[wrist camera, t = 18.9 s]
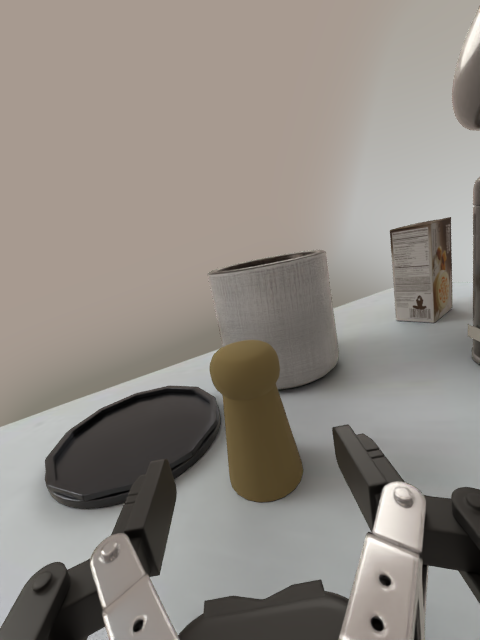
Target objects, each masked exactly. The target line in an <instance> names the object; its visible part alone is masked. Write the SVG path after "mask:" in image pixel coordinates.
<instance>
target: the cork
mask: <svg viewBox="0 0 480 640" xmlns="http://www.w3.org/2000/svg"><path fill="white" fill-rule="evenodd" d="M210 374H211V378H212V381H213V384H214V386H215V388H216V389H217V390H218V391H219V392H220V393H221V394H223V405H224V416H225V428H226V439H227V451H228V462H229V474H230V481H231V484H232V487H233V489H234V490H235V491H236V492H237V494H238V495H240V496H242V497H244V498H245V499H247V500H251V501H256V502H269V501H274V500H277V499H280V498H283V497H285V496H286V495H288V494H289V493H290V492H292V491H293V490H294V489H295V488H296V487H297V485H298V484H299V482H300V481H301V478H302V474H303V467H302V462H301V459H300V456H299V453H298V450H297V446H296V443H295V440H294V437H293V434H292V431H291V428H290V425H289V422H288V419H287V416H286V413H285V410H284V407H283V404H282V401H281V398H280V395H279V392H278V389H277V386H276V382H277V380H278V378H279V374H280V364H279V358H278V355H277V353H276V351H275V350H274V349H273V347H272V346H271V345H270V344H268V343H266V342H263V341H260V340H244V341H238V342H234V343H231V344H228V345H226V346H224V347H222V348H220V349H219V350H218V351H217V352H216V353H215V354H214V355H213V357H212V360H211V363H210Z"/></svg>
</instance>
